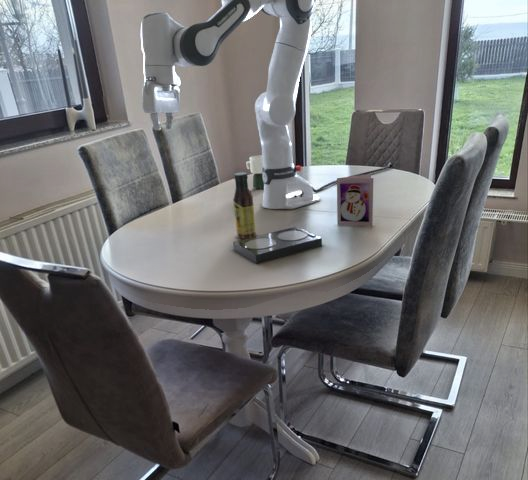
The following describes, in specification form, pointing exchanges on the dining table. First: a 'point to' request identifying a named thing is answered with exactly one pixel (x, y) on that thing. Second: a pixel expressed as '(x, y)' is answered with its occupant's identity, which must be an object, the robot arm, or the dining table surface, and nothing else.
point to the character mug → (256, 170)
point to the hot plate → (277, 244)
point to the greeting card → (355, 200)
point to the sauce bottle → (243, 207)
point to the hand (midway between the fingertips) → (163, 129)
